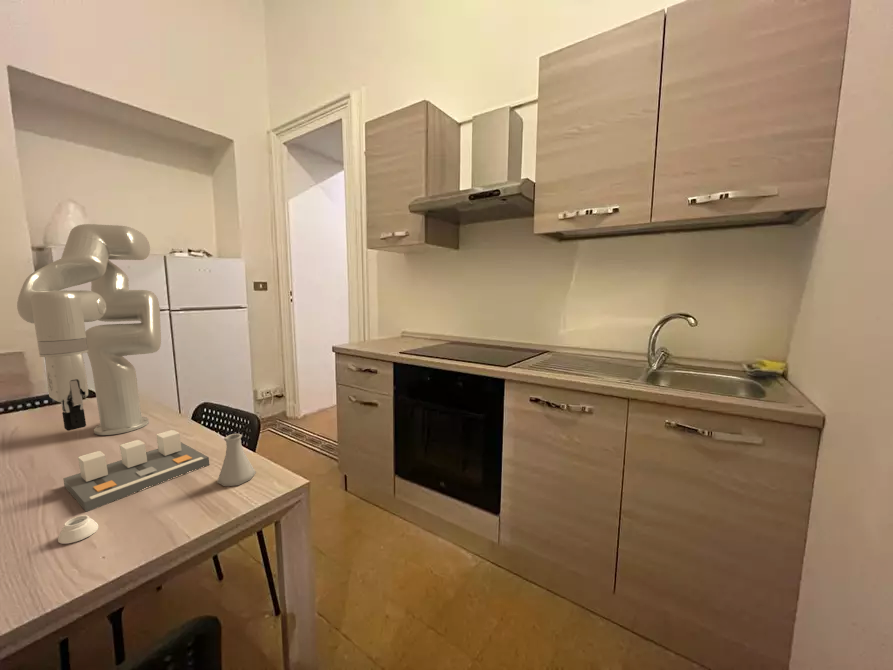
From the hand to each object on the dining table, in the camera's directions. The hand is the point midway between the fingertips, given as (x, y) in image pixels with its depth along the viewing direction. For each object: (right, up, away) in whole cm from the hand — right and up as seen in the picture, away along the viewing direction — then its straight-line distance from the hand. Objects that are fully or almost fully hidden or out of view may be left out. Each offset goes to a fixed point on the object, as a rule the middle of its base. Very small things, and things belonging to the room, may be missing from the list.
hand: (75, 427), depth 84 cm
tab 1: (+7, -10, -3) cm, 13 cm away
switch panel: (+14, -11, +1) cm, 18 cm away
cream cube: (+15, -8, +8) cm, 19 cm away
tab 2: (+11, -9, +3) cm, 15 cm away
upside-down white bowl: (+19, -15, -19) cm, 30 cm away
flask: (+37, -12, 0) cm, 38 cm away
